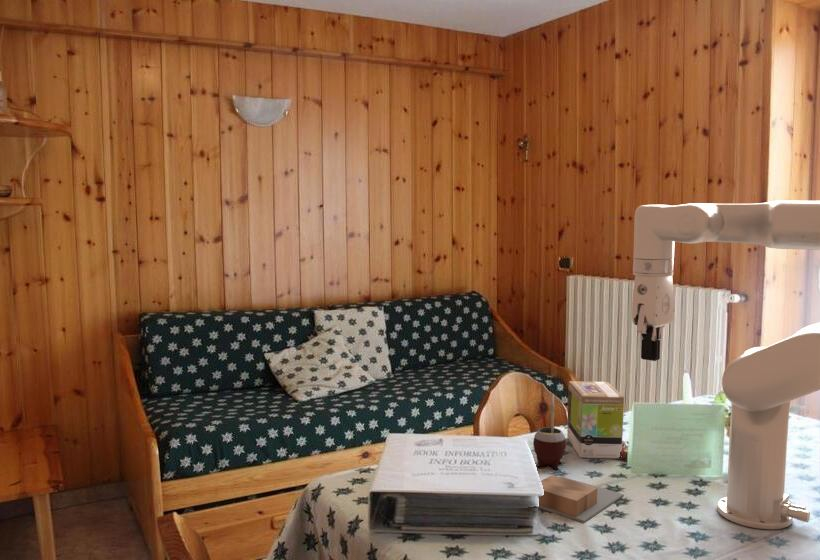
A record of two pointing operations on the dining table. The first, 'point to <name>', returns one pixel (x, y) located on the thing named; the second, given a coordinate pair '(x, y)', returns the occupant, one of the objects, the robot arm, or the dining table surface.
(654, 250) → the robot arm
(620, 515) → the dining table surface
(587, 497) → the slab
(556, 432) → the mate gourd
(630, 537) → the dining table surface
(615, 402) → the tea box
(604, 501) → the mat
